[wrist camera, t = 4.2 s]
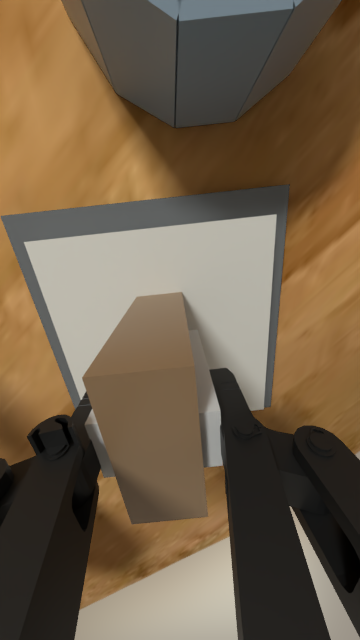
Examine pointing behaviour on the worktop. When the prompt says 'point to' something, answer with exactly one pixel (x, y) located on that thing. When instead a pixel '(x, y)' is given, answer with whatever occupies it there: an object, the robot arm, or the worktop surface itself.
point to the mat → (143, 218)
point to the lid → (159, 341)
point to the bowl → (197, 51)
